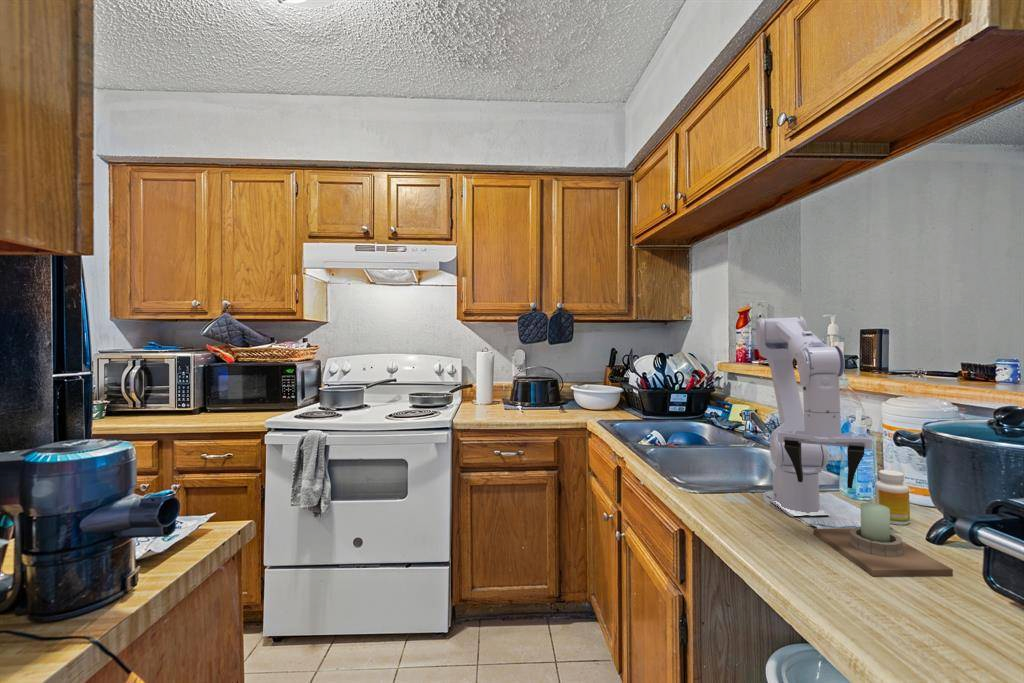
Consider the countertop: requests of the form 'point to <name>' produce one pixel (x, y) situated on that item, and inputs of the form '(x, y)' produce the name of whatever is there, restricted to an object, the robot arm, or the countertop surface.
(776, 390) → the robot arm
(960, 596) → the countertop surface
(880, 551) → the holder
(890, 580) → the countertop surface
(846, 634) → the countertop surface
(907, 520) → the supplement bottle
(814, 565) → the countertop surface
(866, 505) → the peg
